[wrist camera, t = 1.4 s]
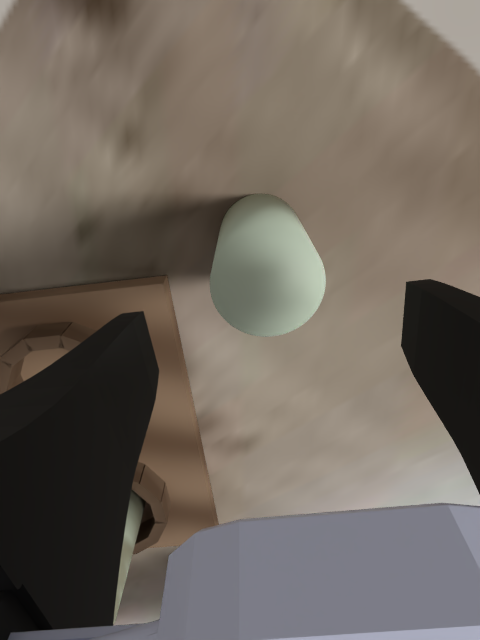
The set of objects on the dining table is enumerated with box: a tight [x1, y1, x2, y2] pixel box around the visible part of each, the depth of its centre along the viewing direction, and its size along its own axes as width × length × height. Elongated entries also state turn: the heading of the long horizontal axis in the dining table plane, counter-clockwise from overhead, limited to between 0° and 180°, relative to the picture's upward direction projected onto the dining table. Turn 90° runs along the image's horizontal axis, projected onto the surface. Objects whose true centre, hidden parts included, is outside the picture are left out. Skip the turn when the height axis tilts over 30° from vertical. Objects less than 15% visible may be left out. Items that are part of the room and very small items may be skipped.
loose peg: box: [210, 194, 326, 337], centre depth 18 cm, size 4×4×7 cm
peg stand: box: [0, 275, 219, 625], centre depth 22 cm, size 19×12×8 cm, turn 7°
